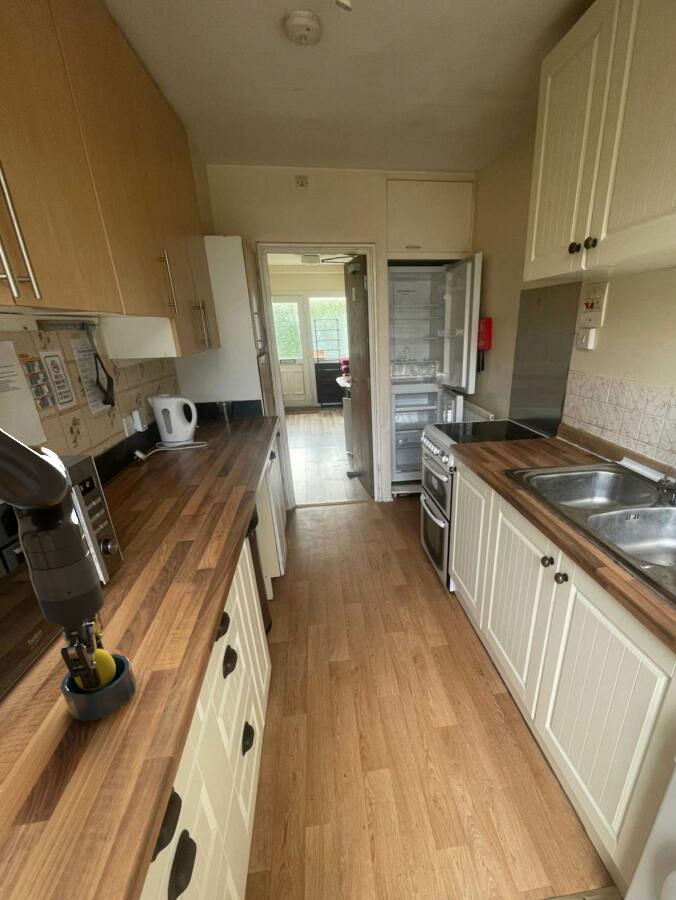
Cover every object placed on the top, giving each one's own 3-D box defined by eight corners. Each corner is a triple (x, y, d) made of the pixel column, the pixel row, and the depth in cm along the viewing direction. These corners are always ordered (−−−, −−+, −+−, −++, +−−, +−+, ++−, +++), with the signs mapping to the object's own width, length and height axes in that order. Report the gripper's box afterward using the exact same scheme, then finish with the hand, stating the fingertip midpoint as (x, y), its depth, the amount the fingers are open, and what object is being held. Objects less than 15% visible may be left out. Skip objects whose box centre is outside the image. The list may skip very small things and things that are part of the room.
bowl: (56, 724, 66) (46, 698, 64) (91, 678, 75) (83, 654, 73) (118, 722, 67) (110, 696, 65) (146, 677, 76) (140, 653, 73)
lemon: (72, 699, 68) (58, 660, 65) (99, 674, 73) (87, 637, 70) (102, 705, 67) (90, 666, 64) (128, 679, 72) (117, 641, 69)
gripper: (90, 605, 58) (118, 698, 64) (104, 556, 70) (126, 639, 76) (21, 619, 55) (58, 714, 61) (48, 565, 67) (76, 650, 73)
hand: (95, 672), depth 69 cm, fingers closed on lemon, 5 cm apart
